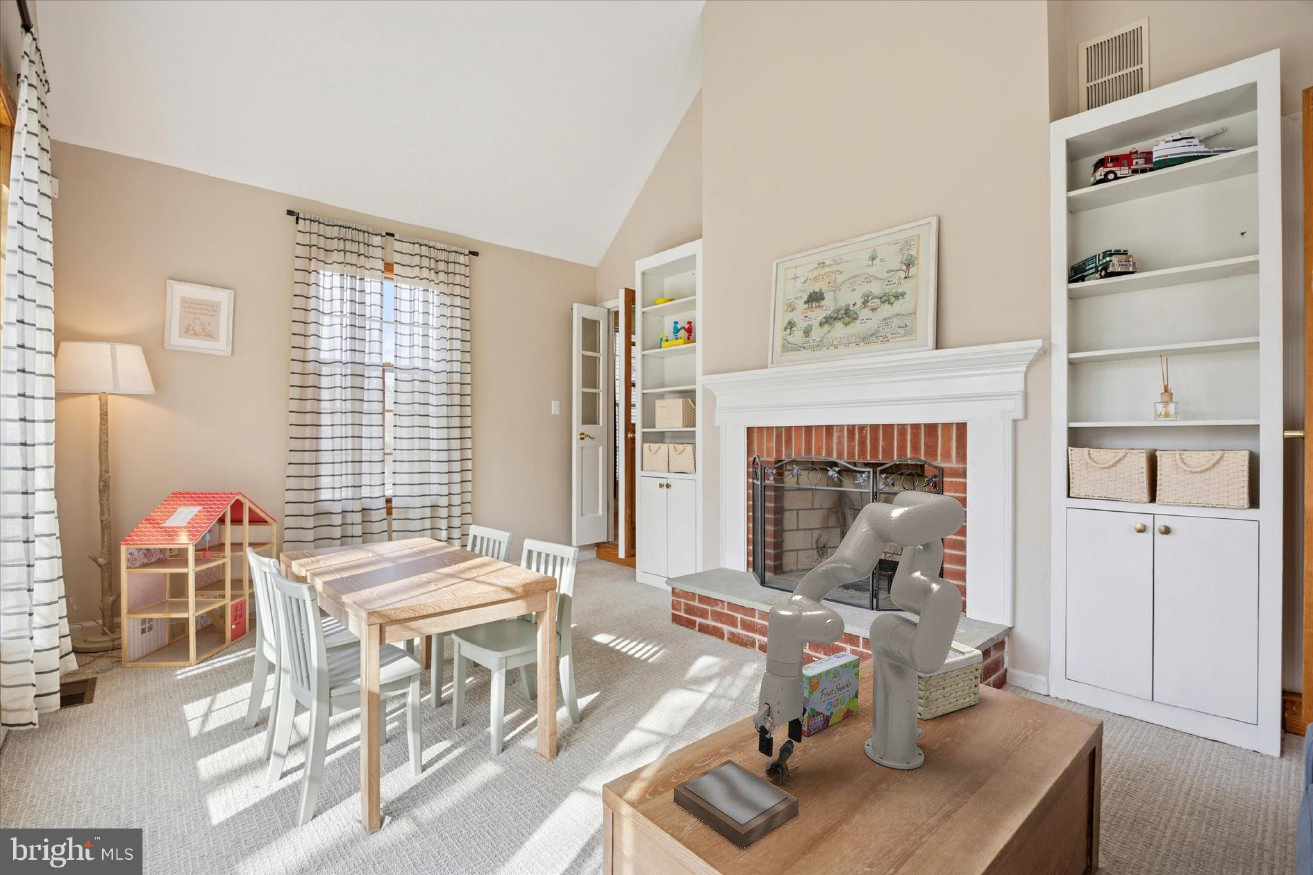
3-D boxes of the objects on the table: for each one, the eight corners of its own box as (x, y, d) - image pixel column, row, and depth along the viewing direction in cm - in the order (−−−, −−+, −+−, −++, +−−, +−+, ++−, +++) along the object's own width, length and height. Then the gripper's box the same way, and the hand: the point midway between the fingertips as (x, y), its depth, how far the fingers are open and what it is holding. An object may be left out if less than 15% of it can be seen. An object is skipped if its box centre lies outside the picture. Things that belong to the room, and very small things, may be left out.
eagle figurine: (808, 782, 126) (801, 751, 135) (790, 755, 125) (784, 726, 134) (776, 798, 128) (771, 766, 136) (758, 772, 127) (754, 741, 135)
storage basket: (922, 724, 154) (924, 666, 154) (873, 698, 168) (874, 645, 168) (985, 705, 165) (986, 651, 164) (933, 682, 179) (934, 632, 179)
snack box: (809, 738, 146) (810, 675, 146) (790, 729, 150) (791, 668, 150) (859, 713, 159) (860, 655, 159) (840, 705, 164) (842, 649, 164)
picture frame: (729, 771, 132) (729, 757, 132) (798, 812, 118) (798, 797, 118) (673, 800, 121) (673, 785, 121) (742, 849, 108) (742, 832, 108)
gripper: (794, 652, 137) (791, 728, 137) (743, 668, 126) (739, 751, 126) (823, 662, 132) (819, 742, 132) (772, 681, 120) (767, 768, 120)
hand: (780, 746), depth 129 cm, fingers open, 9 cm apart
